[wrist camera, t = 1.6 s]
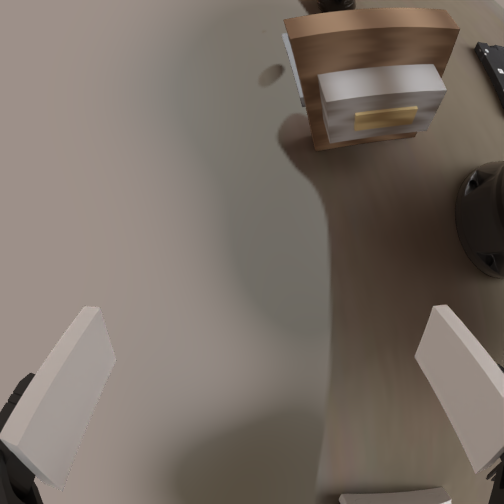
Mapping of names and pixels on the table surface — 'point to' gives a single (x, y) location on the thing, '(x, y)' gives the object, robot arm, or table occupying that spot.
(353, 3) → the supplement bottle
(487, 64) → the disk drive
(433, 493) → the white black curved block
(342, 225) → the table surface
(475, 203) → the robot arm
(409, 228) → the table surface
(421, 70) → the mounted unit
